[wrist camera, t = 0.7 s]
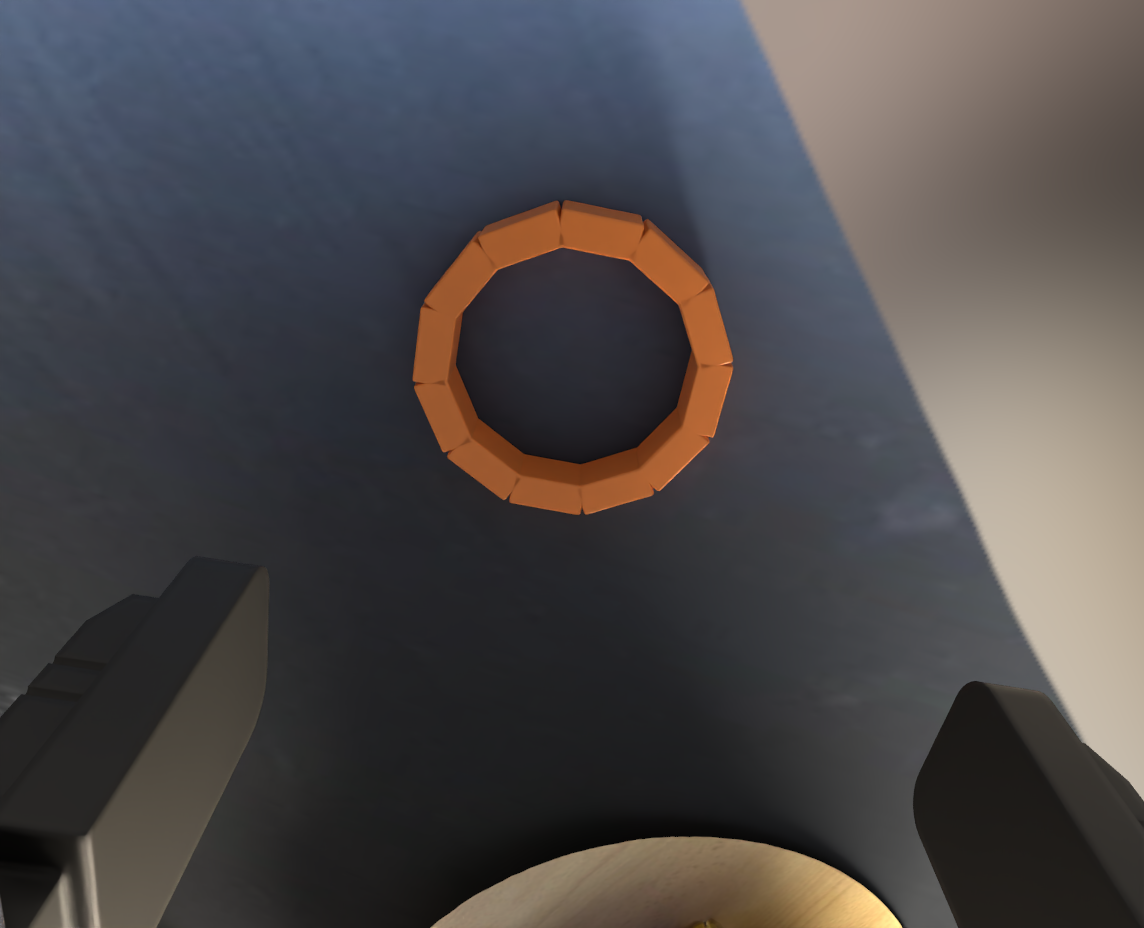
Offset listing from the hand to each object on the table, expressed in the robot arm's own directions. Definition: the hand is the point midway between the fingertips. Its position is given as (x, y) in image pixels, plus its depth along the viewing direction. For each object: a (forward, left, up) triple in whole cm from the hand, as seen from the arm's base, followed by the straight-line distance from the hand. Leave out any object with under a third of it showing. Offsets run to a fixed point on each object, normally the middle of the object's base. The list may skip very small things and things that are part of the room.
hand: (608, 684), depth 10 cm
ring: (+2, 0, -16) cm, 16 cm away
